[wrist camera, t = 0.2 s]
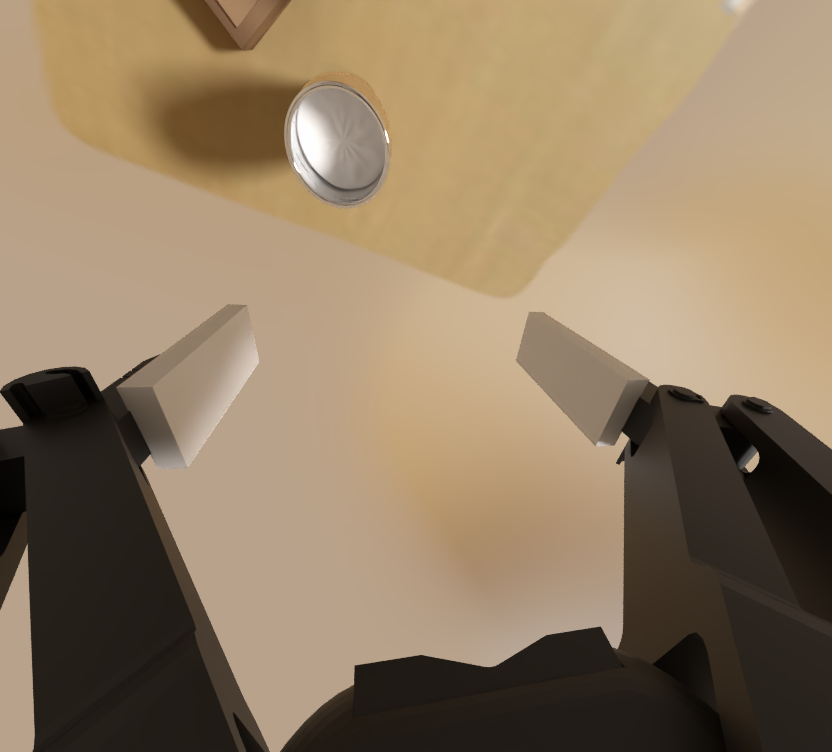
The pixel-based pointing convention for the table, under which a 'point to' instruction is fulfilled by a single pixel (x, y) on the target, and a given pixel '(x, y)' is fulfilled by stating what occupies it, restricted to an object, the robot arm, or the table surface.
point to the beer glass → (338, 140)
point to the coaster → (247, 18)
